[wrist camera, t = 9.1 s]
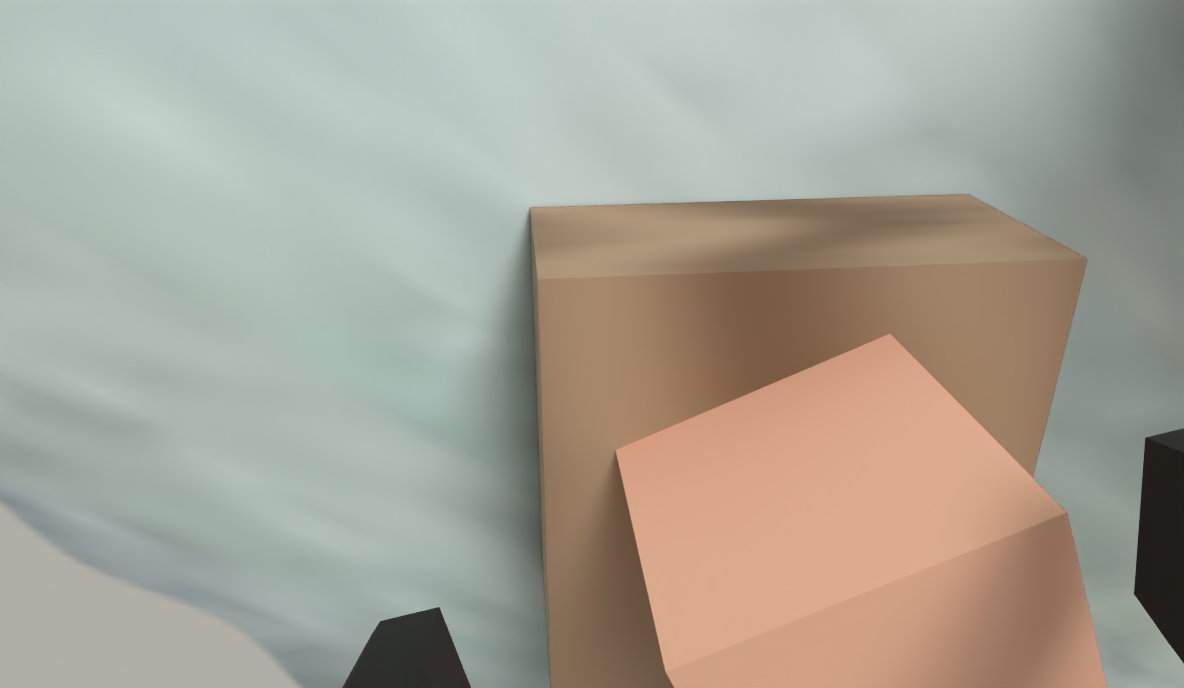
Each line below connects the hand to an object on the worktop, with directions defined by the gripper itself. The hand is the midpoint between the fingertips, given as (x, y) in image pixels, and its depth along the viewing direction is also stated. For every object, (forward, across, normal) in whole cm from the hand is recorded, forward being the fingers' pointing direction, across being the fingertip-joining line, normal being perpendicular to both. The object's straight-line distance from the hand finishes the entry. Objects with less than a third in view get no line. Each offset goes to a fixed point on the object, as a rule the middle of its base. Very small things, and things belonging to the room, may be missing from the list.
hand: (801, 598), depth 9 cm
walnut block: (+10, -1, +4) cm, 11 cm away
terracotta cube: (+6, -1, +4) cm, 7 cm away
